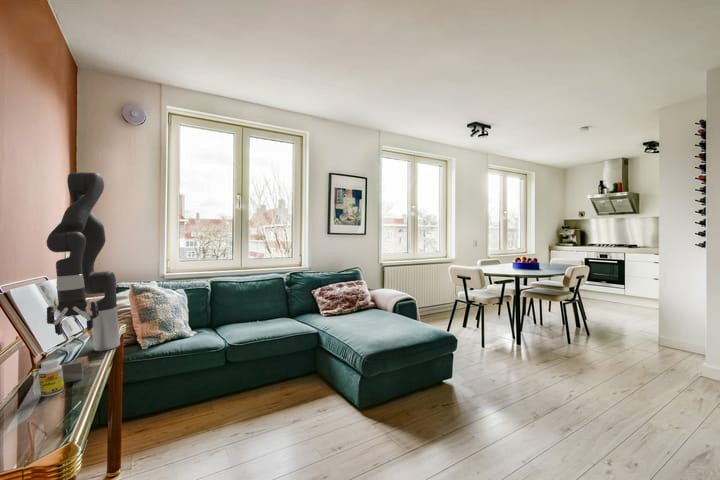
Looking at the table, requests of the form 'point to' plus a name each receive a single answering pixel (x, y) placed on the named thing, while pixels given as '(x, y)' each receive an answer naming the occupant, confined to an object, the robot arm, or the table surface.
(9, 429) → the table surface
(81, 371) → the grey brown rectangular block
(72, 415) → the table surface
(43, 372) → the supplement bottle
